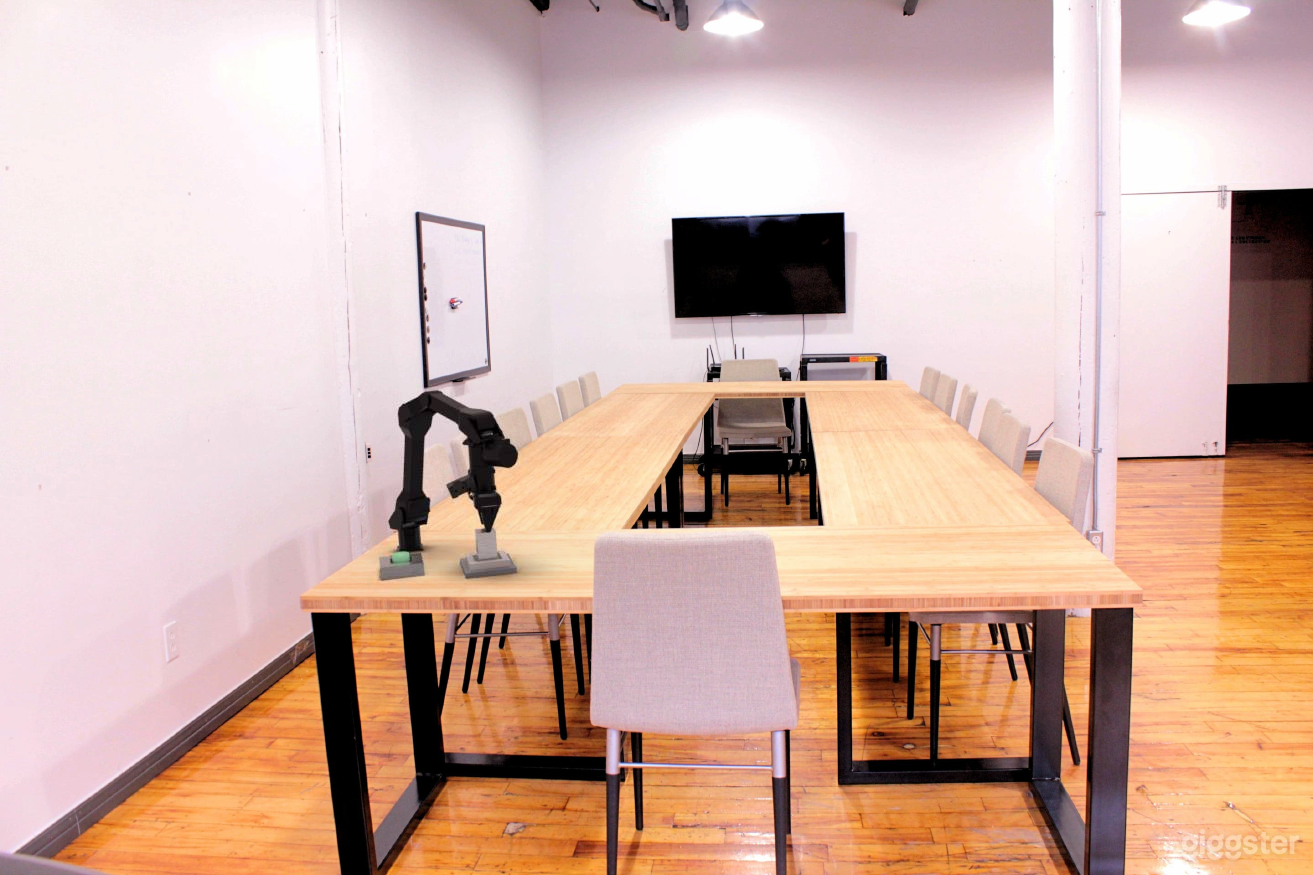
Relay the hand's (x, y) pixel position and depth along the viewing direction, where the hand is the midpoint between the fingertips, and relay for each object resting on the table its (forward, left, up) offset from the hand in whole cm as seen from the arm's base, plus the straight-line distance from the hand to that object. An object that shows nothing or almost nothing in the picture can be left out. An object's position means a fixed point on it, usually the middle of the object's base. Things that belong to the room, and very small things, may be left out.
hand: (485, 528), depth 237 cm
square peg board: (-5, -20, -10) cm, 23 cm away
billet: (0, 0, -9) cm, 9 cm away
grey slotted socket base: (0, 0, -10) cm, 10 cm away
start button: (-5, -20, -9) cm, 23 cm away
